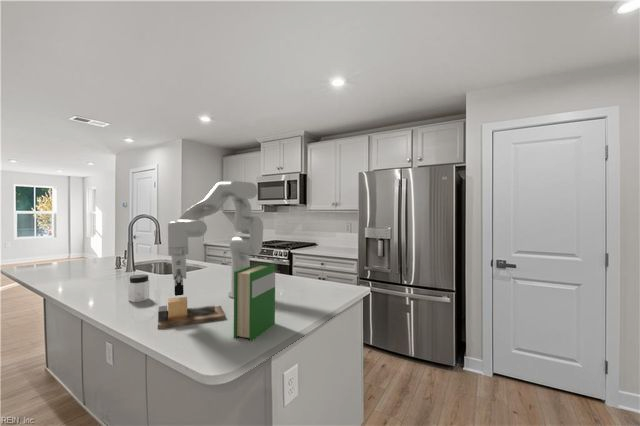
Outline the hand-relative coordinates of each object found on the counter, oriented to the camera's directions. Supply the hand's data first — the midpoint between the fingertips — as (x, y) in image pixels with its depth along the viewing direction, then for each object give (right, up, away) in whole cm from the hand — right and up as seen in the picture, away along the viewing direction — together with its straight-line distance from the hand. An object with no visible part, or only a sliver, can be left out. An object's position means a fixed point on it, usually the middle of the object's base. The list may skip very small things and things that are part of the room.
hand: (179, 291), depth 125 cm
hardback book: (+34, -12, -10) cm, 37 cm away
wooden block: (0, -10, 0) cm, 10 cm away
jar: (-33, -11, +26) cm, 43 cm away
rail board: (+5, -12, +2) cm, 13 cm away
